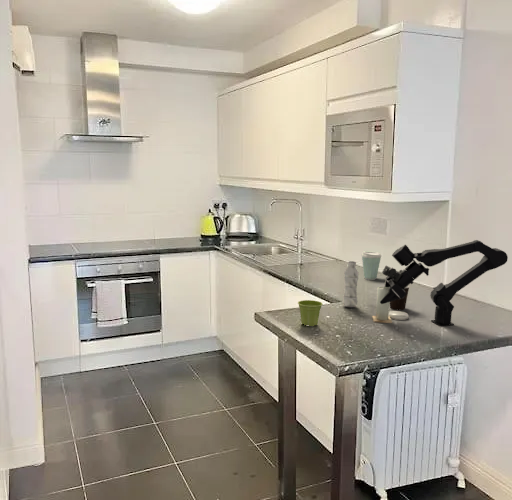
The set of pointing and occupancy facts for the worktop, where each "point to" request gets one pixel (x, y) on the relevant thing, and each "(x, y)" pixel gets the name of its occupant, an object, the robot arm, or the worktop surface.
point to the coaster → (382, 320)
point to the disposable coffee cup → (370, 264)
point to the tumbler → (382, 309)
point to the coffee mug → (400, 302)
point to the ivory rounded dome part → (398, 315)
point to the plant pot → (309, 312)
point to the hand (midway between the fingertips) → (379, 300)
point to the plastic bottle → (350, 285)
